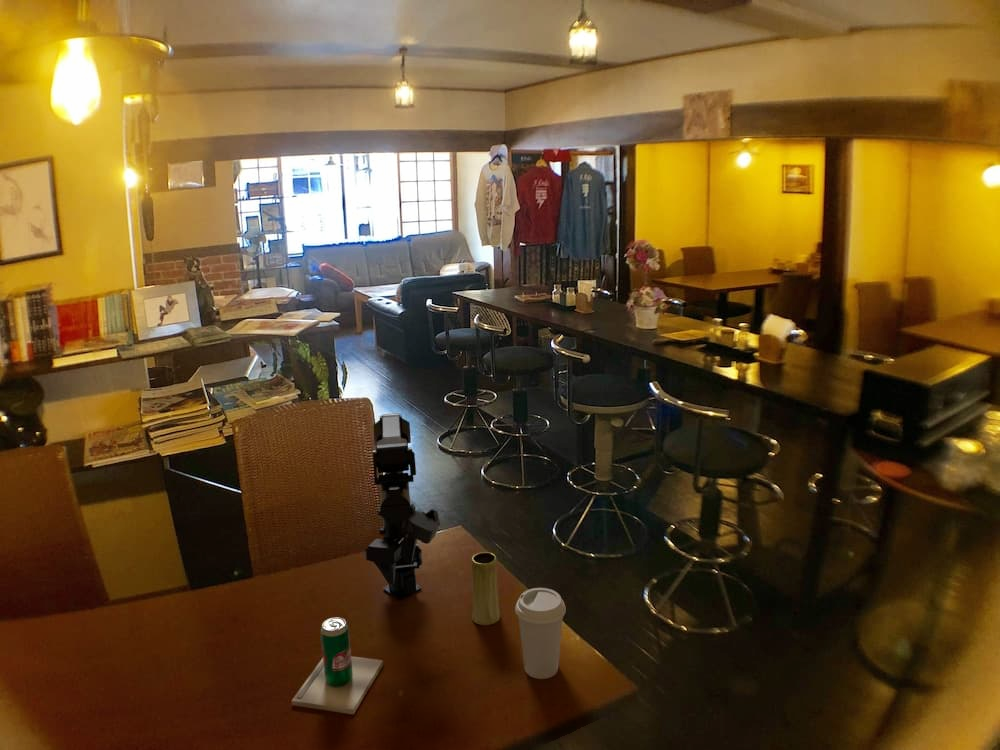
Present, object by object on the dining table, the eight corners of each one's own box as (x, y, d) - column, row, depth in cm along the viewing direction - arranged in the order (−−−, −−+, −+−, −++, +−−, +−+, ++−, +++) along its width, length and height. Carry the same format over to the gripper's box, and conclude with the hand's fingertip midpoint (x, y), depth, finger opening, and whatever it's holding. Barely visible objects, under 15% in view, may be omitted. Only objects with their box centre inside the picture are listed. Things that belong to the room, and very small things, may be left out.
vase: (501, 609, 161) (499, 551, 157) (498, 626, 155) (496, 565, 151) (473, 608, 162) (471, 550, 158) (470, 625, 156) (467, 565, 152)
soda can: (336, 692, 135) (331, 635, 132) (320, 680, 138) (314, 625, 135) (358, 678, 139) (353, 622, 136) (341, 667, 142) (336, 612, 139)
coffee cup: (536, 646, 148) (535, 580, 144) (575, 664, 142) (575, 596, 138) (506, 671, 141) (504, 602, 137) (546, 691, 135) (546, 620, 131)
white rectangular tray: (326, 657, 147) (326, 652, 146) (383, 664, 144) (382, 659, 144) (292, 705, 133) (291, 699, 133) (353, 714, 131) (352, 709, 130)
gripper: (414, 525, 138) (419, 601, 141) (449, 488, 155) (452, 556, 159) (360, 520, 141) (366, 594, 144) (400, 484, 158) (405, 551, 162)
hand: (400, 573), depth 152 cm, fingers open, 9 cm apart
